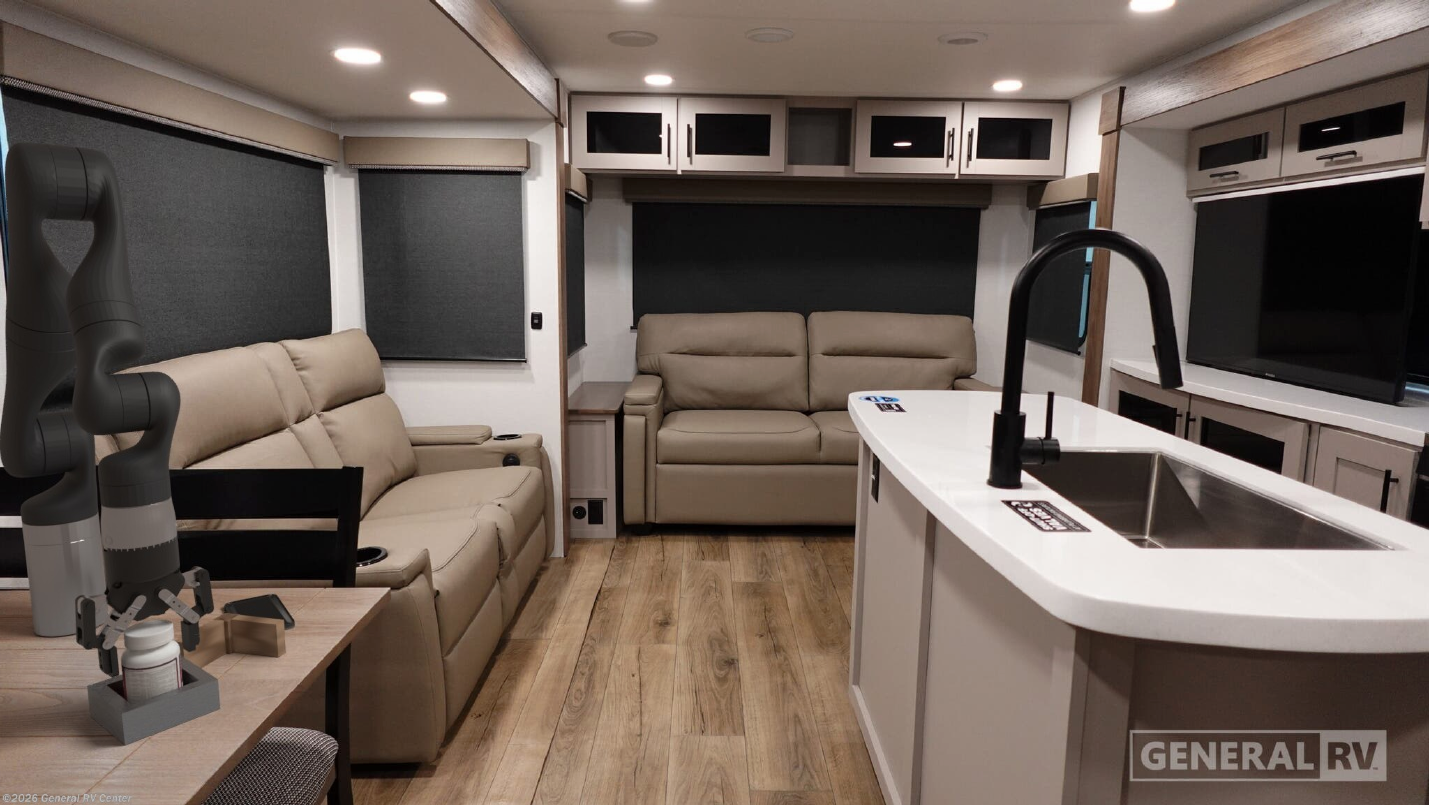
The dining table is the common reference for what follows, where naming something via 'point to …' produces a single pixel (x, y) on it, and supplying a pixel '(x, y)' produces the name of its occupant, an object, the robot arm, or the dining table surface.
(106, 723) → the bore block
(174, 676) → the pill bottle
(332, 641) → the dining table surface
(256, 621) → the v block
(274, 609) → the phone
